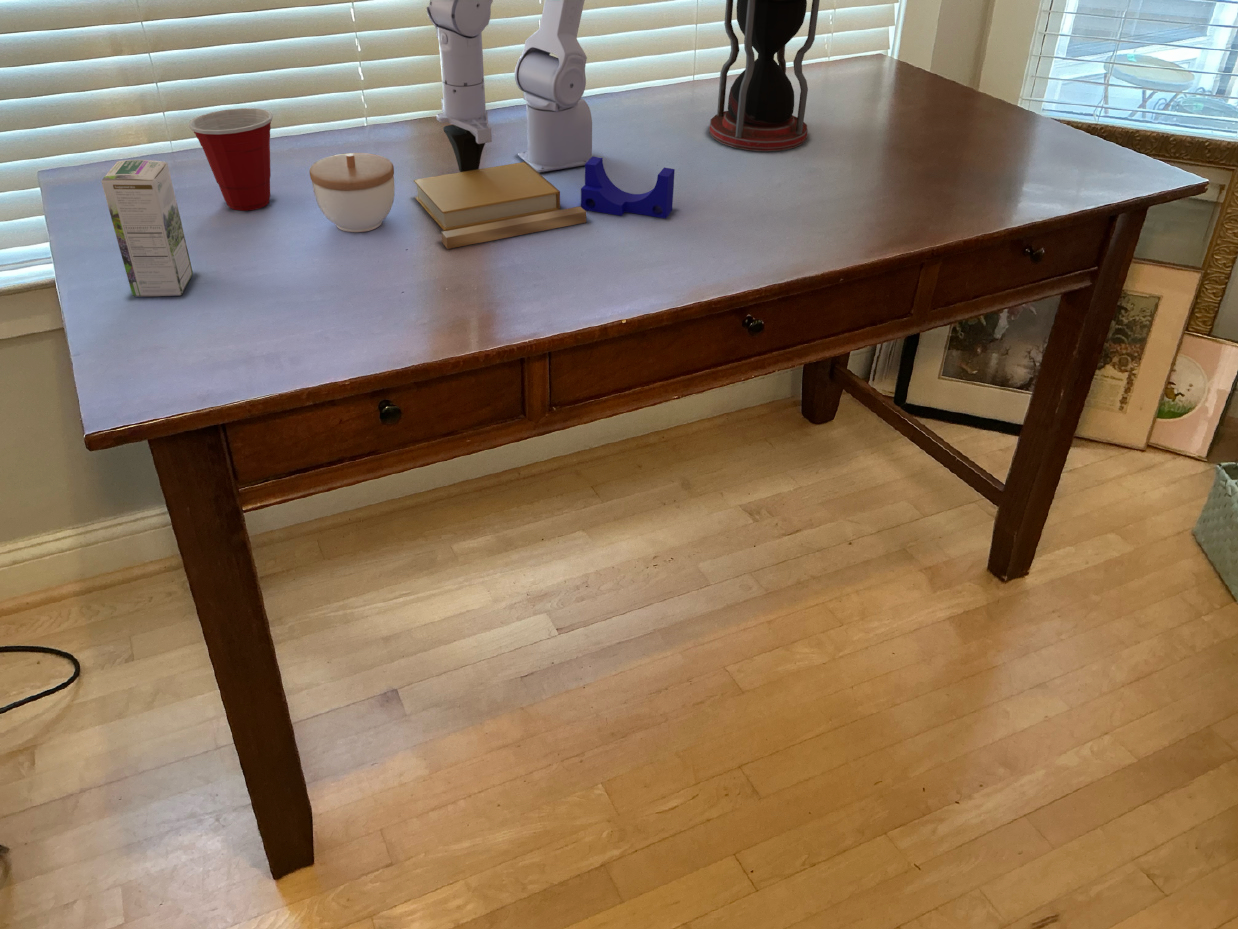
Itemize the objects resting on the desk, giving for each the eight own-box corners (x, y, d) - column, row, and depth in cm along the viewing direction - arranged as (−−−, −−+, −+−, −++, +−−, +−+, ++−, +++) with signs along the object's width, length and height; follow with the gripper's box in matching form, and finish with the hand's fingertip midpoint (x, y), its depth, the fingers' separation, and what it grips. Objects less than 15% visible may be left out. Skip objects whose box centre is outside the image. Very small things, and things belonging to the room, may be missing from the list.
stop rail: (580, 216, 142) (580, 205, 141) (586, 222, 140) (586, 211, 139) (442, 242, 134) (441, 231, 133) (447, 249, 133) (446, 237, 132)
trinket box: (381, 243, 133) (372, 174, 128) (304, 234, 135) (292, 165, 129) (411, 211, 142) (404, 144, 136) (338, 203, 143) (328, 136, 138)
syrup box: (146, 275, 125) (113, 159, 116) (195, 274, 125) (167, 158, 117) (132, 297, 120) (97, 178, 112) (184, 296, 121) (153, 178, 112)
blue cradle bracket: (580, 209, 144) (581, 167, 140) (592, 197, 147) (592, 156, 144) (662, 222, 141) (664, 180, 137) (672, 210, 144) (674, 168, 141)
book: (526, 179, 152) (525, 161, 150) (560, 210, 143) (560, 191, 142) (415, 198, 145) (413, 179, 144) (444, 231, 137) (442, 211, 135)
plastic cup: (263, 181, 149) (247, 97, 142) (303, 203, 143) (288, 117, 136) (192, 200, 143) (172, 114, 136) (230, 225, 137) (211, 136, 129)
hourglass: (822, 130, 172) (846, -32, 156) (780, 159, 161) (801, -13, 145) (736, 111, 178) (751, -46, 163) (691, 138, 167) (702, -29, 152)
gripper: (417, 68, 143) (426, 163, 152) (453, 99, 133) (460, 199, 141) (465, 62, 146) (471, 156, 154) (504, 92, 136) (508, 191, 144)
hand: (469, 176), depth 148 cm, fingers closed
